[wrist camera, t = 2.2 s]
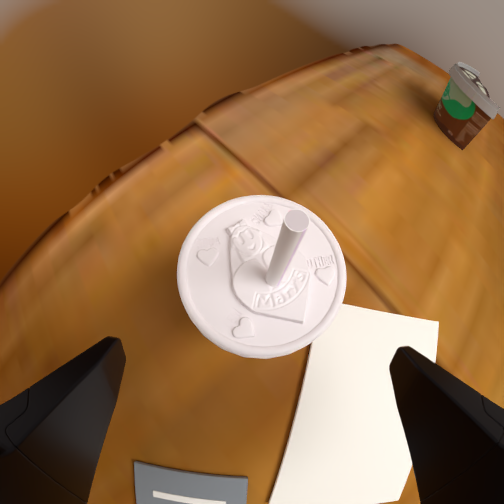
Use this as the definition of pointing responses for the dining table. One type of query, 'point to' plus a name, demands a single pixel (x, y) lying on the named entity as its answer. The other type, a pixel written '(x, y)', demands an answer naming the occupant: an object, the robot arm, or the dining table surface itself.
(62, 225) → the dining table surface
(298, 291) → the smoothie
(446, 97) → the food container
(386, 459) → the paper
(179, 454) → the dining table surface
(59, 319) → the dining table surface
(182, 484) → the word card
